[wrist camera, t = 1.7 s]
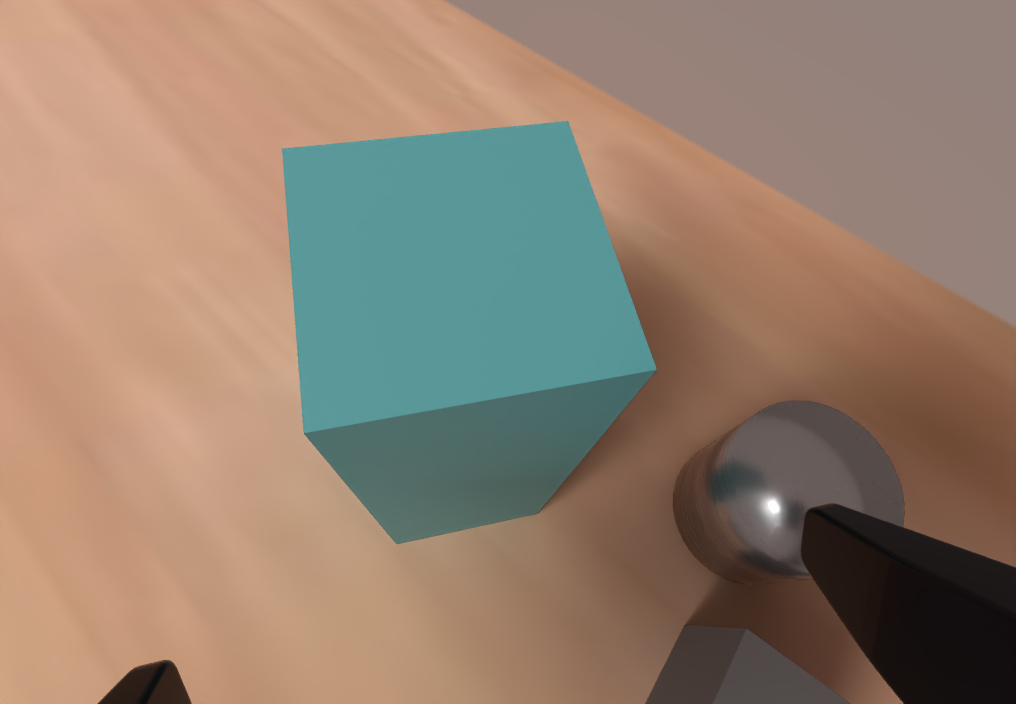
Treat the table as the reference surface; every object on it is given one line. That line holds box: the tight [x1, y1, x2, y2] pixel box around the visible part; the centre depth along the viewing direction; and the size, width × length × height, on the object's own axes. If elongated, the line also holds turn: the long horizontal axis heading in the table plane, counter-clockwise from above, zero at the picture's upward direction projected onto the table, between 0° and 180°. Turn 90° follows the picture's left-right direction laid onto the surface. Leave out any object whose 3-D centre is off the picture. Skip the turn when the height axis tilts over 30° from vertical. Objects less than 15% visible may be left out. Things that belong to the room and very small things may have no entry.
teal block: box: [282, 121, 657, 544], centre depth 15 cm, size 5×5×13 cm
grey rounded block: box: [673, 400, 904, 584], centre depth 18 cm, size 5×5×5 cm
